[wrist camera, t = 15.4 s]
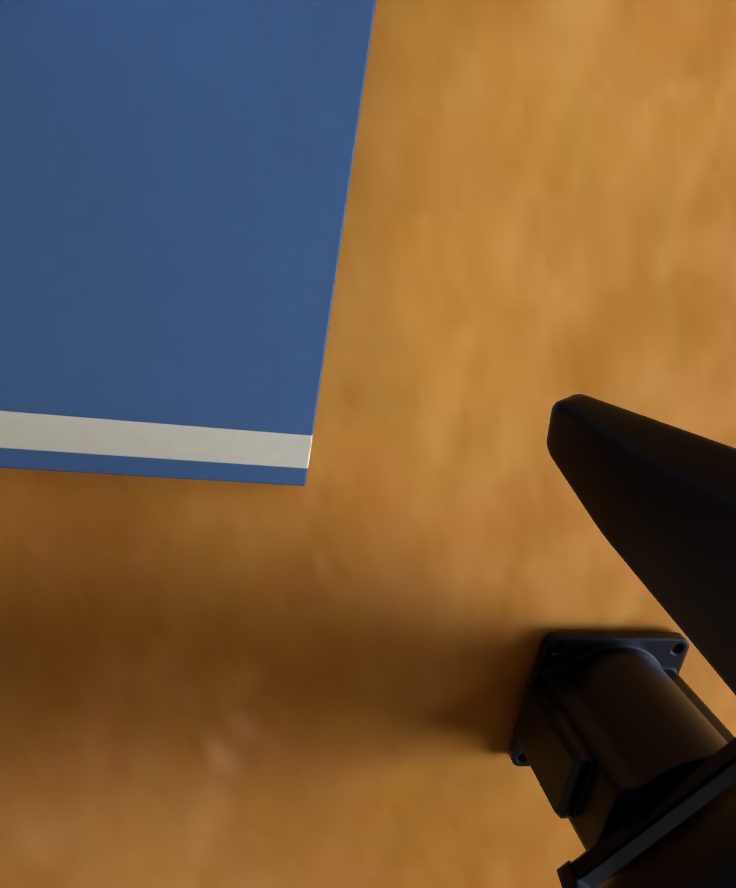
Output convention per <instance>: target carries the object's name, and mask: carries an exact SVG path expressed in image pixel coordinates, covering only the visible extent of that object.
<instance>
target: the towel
mask: <svg viewBox="0 0 736 888" xmlns="http://www.w3.org/2000/svg"><path fill="white" fill-rule="evenodd" d="M375 6H376V0H0V468H16V469H33V470H49V471H66V472H82V473H99V474H115V475H132V476H148V477H164V478H181V479H197V480H214V481H230V482H247V483H263V484H280V485H296V486H305V484H306V478H307V471H308V465H309V458H310V451H311V444H312V438H313V430H314V423H315V416H316V410H317V403H318V396H319V389H320V382H321V375H322V369H323V362H324V355H325V348H326V341H327V334H328V328H329V321H330V314H331V307H332V300H333V293H334V286H335V280H336V273H337V266H338V259H339V252H340V245H341V239H342V232H343V225H344V218H345V211H346V204H347V198H348V191H349V184H350V177H351V170H352V163H353V157H354V150H355V143H356V136H357V129H358V122H359V116H360V109H361V102H362V95H363V88H364V81H365V74H366V68H367V61H368V54H369V47H370V40H371V33H372V27H373V20H374V13H375Z"/></svg>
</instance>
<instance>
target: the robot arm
mask: <svg viewBox="0 0 736 888" xmlns="http://www.w3.org/2000/svg"><path fill="white" fill-rule="evenodd" d="M547 447H548V450H549V453H550V455H551V457H552V459H553V460H554V462H555V463H556V465H557V466H558V468H559V469H560V471H561V472H562V474H563V475H564V477H565V478H566V480H567V481H568V483H569V484H570V486H571V487H572V489H573V490H574V492H575V493H576V495H577V496H578V498H579V500H580V501H581V503H582V504H583V506H584V507H585V509H586V510H587V512H588V513H589V515H590V516H591V518H592V519H593V521H594V522H595V524H596V525H597V526H598V528H599V529H600V531H601V532H602V534H603V535H604V536H605V537H606V539H607V540H608V541H609V542H610V544H611V545H612V546H613V547H614V549H615V550H616V551H617V552H618V553H619V555H620V556H621V557H622V558H623V560H624V561H625V562H626V563H627V564H628V566H629V567H630V568H631V569H632V570H633V572H634V573H635V574H636V575H637V576H638V578H639V579H640V580H641V581H642V583H643V584H644V585H645V586H646V587H647V589H648V590H649V591H650V592H651V593H652V595H653V596H654V597H655V598H656V599H657V601H658V602H659V603H660V604H661V605H662V607H663V608H664V609H665V610H666V612H667V613H668V614H669V615H670V616H671V618H672V619H673V620H674V621H675V622H676V624H677V625H678V626H679V627H680V628H681V630H682V631H683V632H684V633H685V635H686V636H687V637H688V638H689V639H690V641H691V642H692V643H693V644H694V645H695V647H696V648H697V649H698V650H699V651H700V653H701V654H702V655H703V656H704V657H705V659H706V660H707V661H708V662H709V664H710V665H711V666H712V667H713V668H714V670H715V671H716V672H717V673H718V674H719V676H720V677H721V678H722V679H723V680H724V682H725V683H726V684H727V685H728V687H729V688H730V689H731V690H732V691H733V693H734V694H735V695H736V448H733V447H730V446H727V445H724V444H721V443H719V442H716V441H713V440H710V439H707V438H704V437H702V436H699V435H696V434H693V433H690V432H688V431H685V430H682V429H679V428H676V427H673V426H671V425H668V424H665V423H662V422H659V421H656V420H654V419H651V418H648V417H645V416H642V415H640V414H637V413H634V412H631V411H628V410H625V409H623V408H620V407H617V406H614V405H611V404H608V403H606V402H603V401H600V400H597V399H594V398H592V397H589V396H586V395H582V394H576V395H572V396H570V397H568V398H565V399H563V400H560V401H558V402H556V403H555V405H554V406H553V408H552V412H551V418H550V424H549V430H548V436H547ZM555 644H557V645H556V646H555V647H553V646H554V645H555ZM688 648H689V643H688V641H687V640H686V639H685V638H684V637H683V636H682V635H681V634H680V633H676V632H551V633H549V634H547V635H546V636H545V637H544V638H543V640H542V642H541V645H540V649H539V652H538V655H537V658H536V662H535V665H534V668H533V672H532V675H531V678H530V681H529V684H528V685H527V687H526V691H525V694H524V697H523V700H522V704H521V707H520V710H519V714H518V717H517V720H516V723H515V727H514V730H513V733H514V734H513V737H512V741H511V744H510V747H509V752H508V754H509V756H510V758H511V760H512V762H513V764H515V765H516V766H531V768H532V770H533V772H534V774H535V775H536V777H537V779H538V781H539V783H540V785H541V787H542V789H543V791H544V793H545V794H546V796H547V798H548V800H549V802H550V804H551V806H552V808H553V810H554V812H555V813H556V814H557V815H558V816H559V817H560V818H568V819H569V820H570V822H571V824H572V826H573V828H574V830H575V831H576V833H577V835H578V837H579V839H580V841H581V843H582V844H583V846H584V848H585V850H586V852H584V853H583V854H582V855H580V856H579V857H578V858H576V859H575V860H574V861H572V862H571V861H567V862H566V863H565V864H563V865H562V866H561V867H560V868H558V869H557V873H558V876H559V879H560V882H561V885H562V888H736V737H734V736H733V735H732V734H731V733H730V731H729V730H728V729H727V728H726V727H725V726H724V725H723V724H722V723H721V721H720V720H719V719H718V718H717V717H716V716H715V715H714V714H713V713H712V712H711V710H710V709H709V708H708V707H707V706H706V705H705V704H704V703H703V702H702V700H701V699H700V698H699V697H698V696H697V695H696V694H695V693H694V692H693V691H692V689H691V688H690V687H689V686H688V685H687V684H686V683H685V682H684V681H683V679H682V678H681V677H680V676H679V675H678V674H679V671H680V669H681V666H682V664H683V661H684V658H685V656H686V653H687V651H688Z"/></svg>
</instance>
